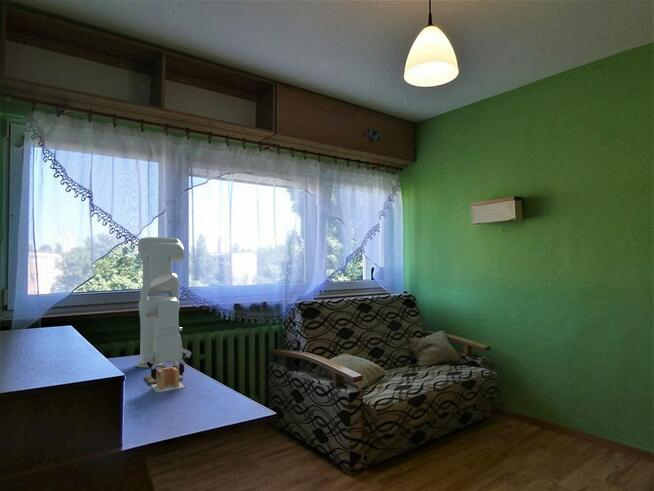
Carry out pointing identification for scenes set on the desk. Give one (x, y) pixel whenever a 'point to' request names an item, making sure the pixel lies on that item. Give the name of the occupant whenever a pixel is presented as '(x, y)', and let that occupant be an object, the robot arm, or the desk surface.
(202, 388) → the desk surface
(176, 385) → the c link
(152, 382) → the stand
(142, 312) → the robot arm
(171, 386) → the pad
